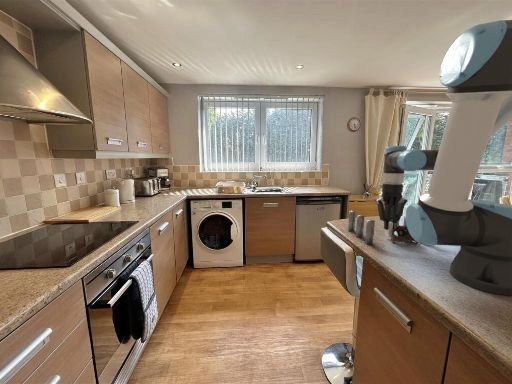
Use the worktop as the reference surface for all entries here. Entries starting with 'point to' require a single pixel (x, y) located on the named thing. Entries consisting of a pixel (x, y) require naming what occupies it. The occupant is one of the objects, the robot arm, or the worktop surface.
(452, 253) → the worktop surface
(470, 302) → the worktop surface
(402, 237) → the pottery mug
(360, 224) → the posts
